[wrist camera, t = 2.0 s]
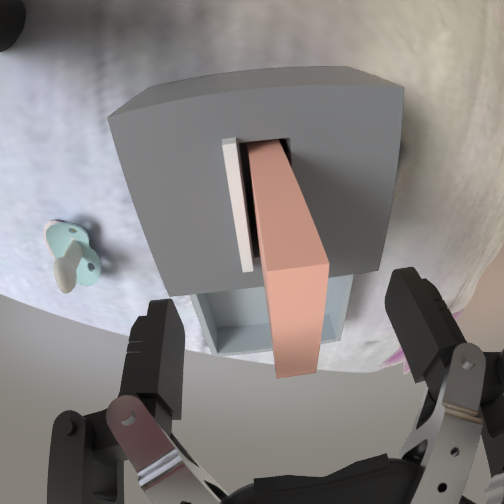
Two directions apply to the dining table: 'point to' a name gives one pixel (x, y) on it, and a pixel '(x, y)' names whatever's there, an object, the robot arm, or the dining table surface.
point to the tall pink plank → (288, 260)
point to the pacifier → (71, 255)
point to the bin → (260, 317)
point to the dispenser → (237, 167)
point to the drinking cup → (10, 22)
